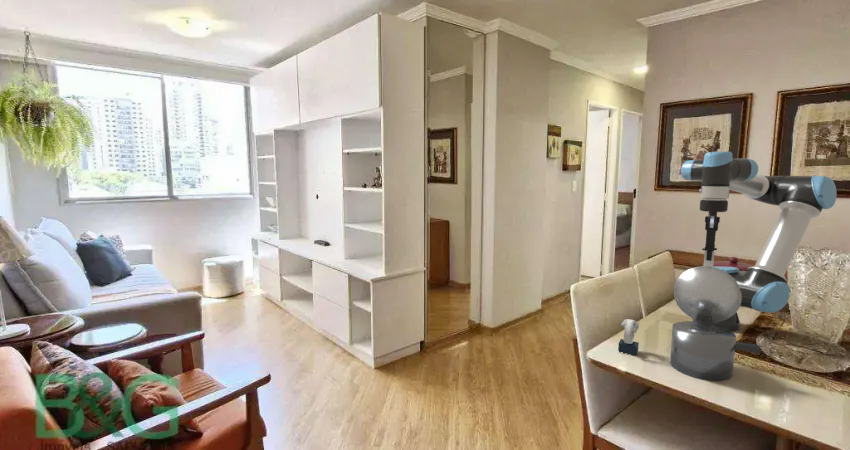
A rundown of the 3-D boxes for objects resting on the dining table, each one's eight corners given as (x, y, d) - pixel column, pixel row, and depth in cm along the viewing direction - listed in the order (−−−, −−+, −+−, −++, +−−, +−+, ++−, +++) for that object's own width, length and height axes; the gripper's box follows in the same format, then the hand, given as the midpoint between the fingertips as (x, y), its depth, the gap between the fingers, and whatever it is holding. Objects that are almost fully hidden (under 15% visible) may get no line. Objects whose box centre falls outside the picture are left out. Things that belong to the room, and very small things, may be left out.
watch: (638, 349, 139) (640, 318, 137) (635, 358, 132) (637, 325, 131) (621, 345, 142) (622, 315, 141) (616, 353, 135) (618, 322, 134)
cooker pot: (672, 350, 137) (675, 316, 136) (754, 368, 125) (757, 330, 123) (667, 371, 123) (670, 333, 122) (758, 393, 111) (762, 351, 109)
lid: (671, 316, 136) (672, 315, 138) (739, 328, 126) (738, 326, 128) (675, 263, 136) (676, 262, 138) (744, 270, 125) (743, 269, 128)
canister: (723, 293, 200) (726, 252, 198) (764, 304, 184) (769, 259, 181) (697, 298, 194) (700, 254, 191) (737, 309, 177) (742, 262, 175)
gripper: (701, 198, 141) (695, 264, 143) (699, 199, 130) (693, 271, 133) (728, 198, 136) (721, 267, 139) (728, 200, 126) (721, 275, 129)
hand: (707, 269), depth 136 cm, fingers closed
